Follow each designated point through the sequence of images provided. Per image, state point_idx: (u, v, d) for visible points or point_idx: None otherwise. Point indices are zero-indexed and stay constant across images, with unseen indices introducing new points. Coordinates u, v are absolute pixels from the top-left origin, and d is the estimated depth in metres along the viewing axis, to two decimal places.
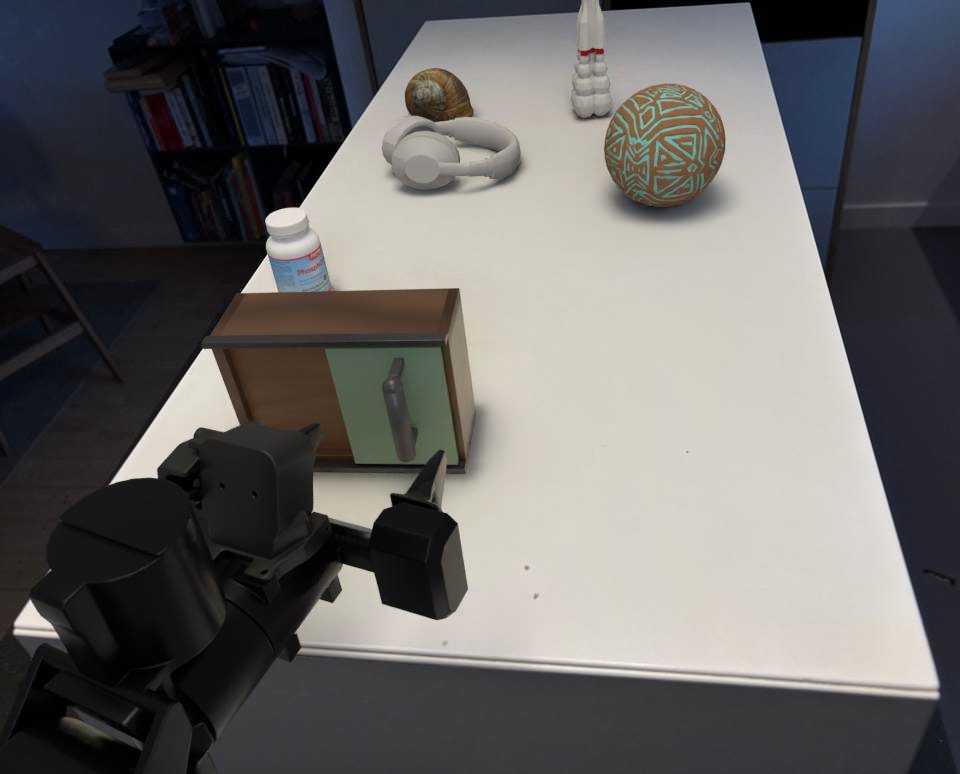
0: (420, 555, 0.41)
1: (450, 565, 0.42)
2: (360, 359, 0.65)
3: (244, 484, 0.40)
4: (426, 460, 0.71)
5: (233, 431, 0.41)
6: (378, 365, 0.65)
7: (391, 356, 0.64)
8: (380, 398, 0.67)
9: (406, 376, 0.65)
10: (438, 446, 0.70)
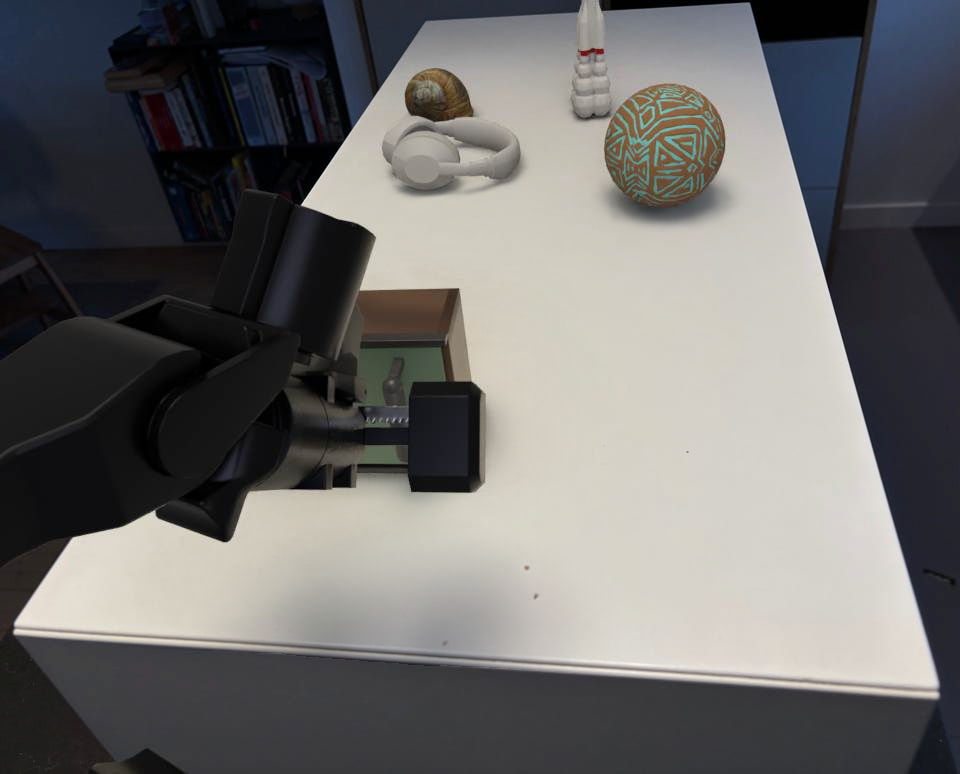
0: (462, 392, 0.44)
1: (482, 421, 0.45)
2: (360, 359, 0.65)
3: None
4: None
5: None
6: (378, 365, 0.65)
7: (391, 356, 0.64)
8: (380, 398, 0.67)
9: (406, 376, 0.65)
10: None
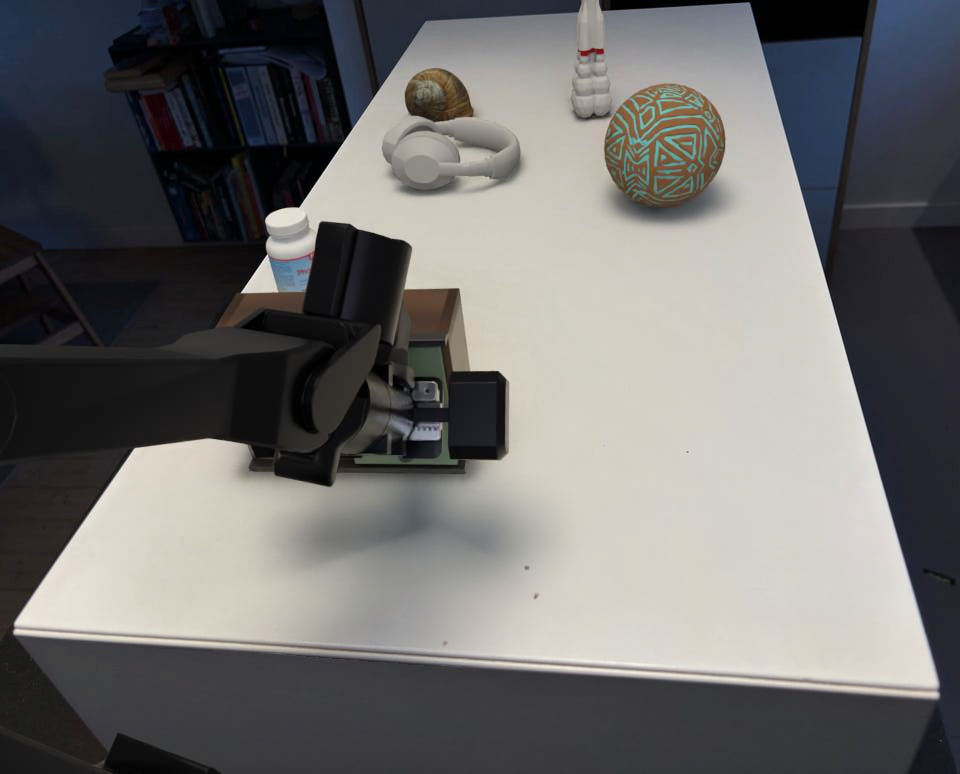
0: (491, 380, 0.56)
1: (506, 403, 0.57)
2: None
3: None
4: (426, 460, 0.71)
5: None
6: None
7: None
8: None
9: None
10: None
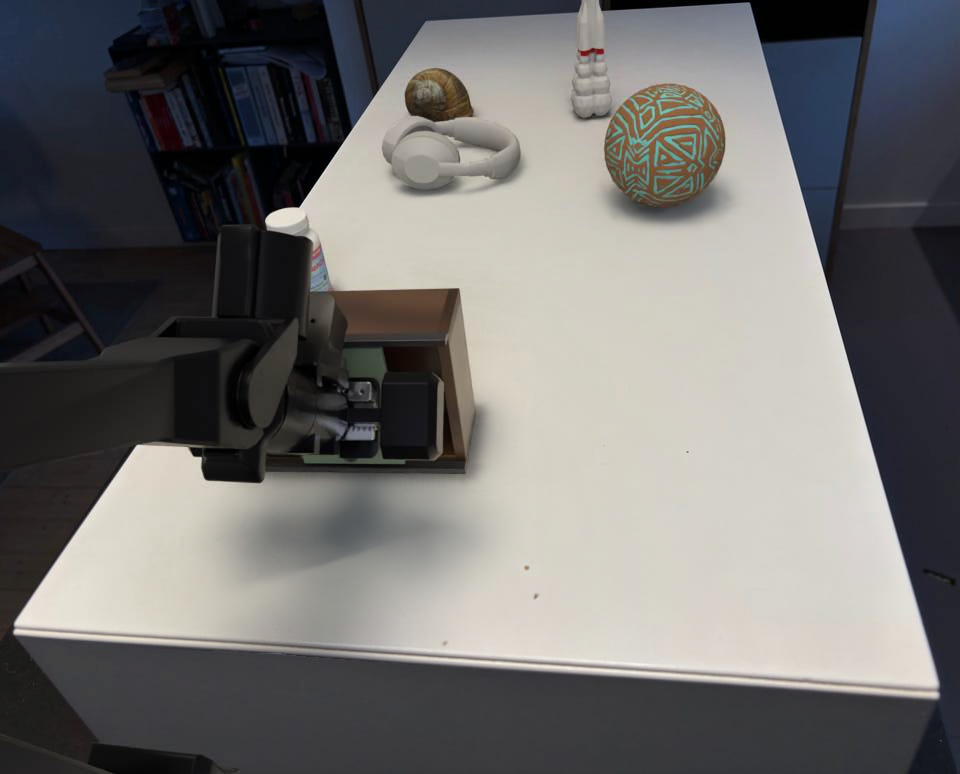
0: (423, 380, 0.56)
1: (439, 404, 0.57)
2: None
3: None
4: (374, 460, 0.72)
5: None
6: None
7: None
8: None
9: None
10: None
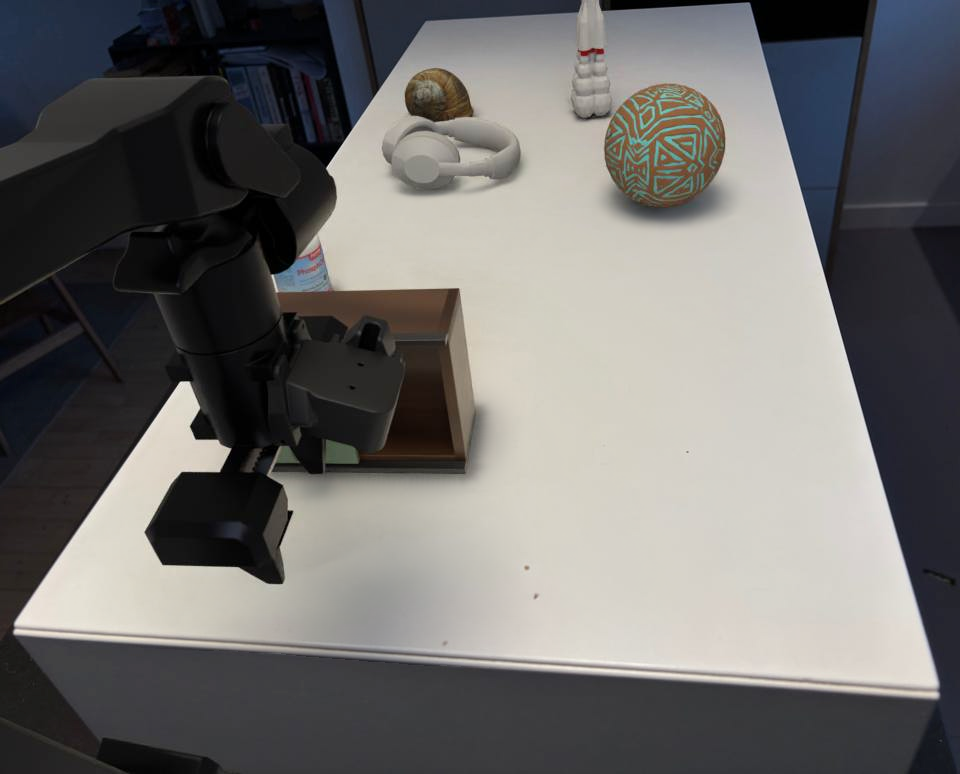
0: (247, 519, 0.39)
1: (217, 548, 0.39)
2: None
3: (362, 382, 0.43)
4: (328, 459, 0.73)
5: (399, 390, 0.46)
6: None
7: None
8: None
9: None
10: (338, 445, 0.71)
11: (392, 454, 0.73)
